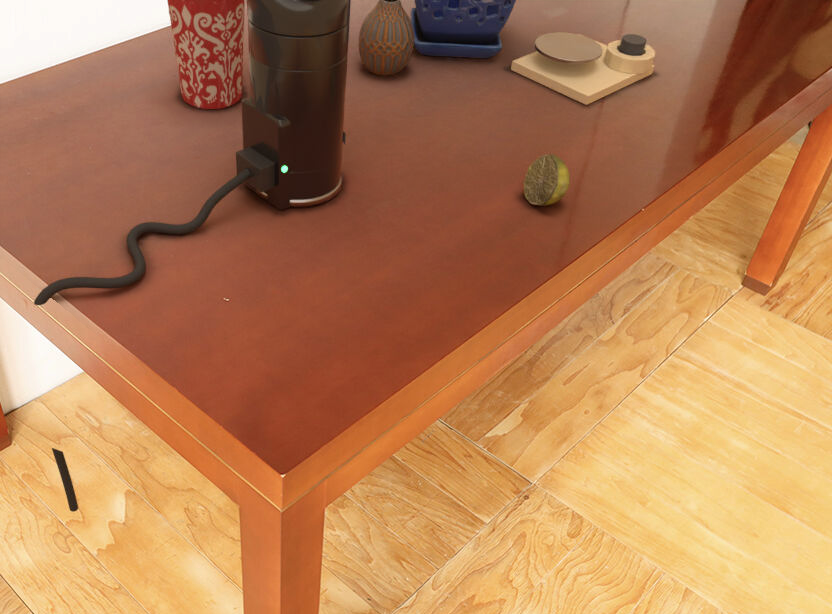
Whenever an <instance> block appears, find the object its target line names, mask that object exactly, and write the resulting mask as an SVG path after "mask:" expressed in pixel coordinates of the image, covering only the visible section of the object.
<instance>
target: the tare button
mask: <svg viewBox="0 0 832 614" xmlns="http://www.w3.org/2000/svg"><path fill="white" fill-rule="evenodd" d="M620 40H621V43H620V47H619V52H621V53H623V54H625V55H630V56H641V55H643V51H644V48H645V45H647V39H646V37H644V36H642V35H639V34H635V33H627V34H624V35H622V36H621V39H620Z"/></svg>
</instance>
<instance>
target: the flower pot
mask: <svg viewBox="0 0 832 614" xmlns="http://www.w3.org/2000/svg"><path fill="white" fill-rule="evenodd" d="M516 1H517V0H414V5H415V7H412V8H411V9H410V20H411V22H412V26H413V30H414V48H415V49H416V51H417V52H418V53H419V54H420V55H423V56H435V57H451V58H453V57H454V58H456V57H457V58H472V59H473V58H476V59H490V58H493V57H494V56H496V55H497V54H499V53H500V52H501V50H502V49H503V43H502V39H501V35H500V33H501V31H502V30H503V29H504V27H505V25H506V23H507V22H508V20H509V18H510V16H511V14H512V11H513V9H514V7H515V4H516Z"/></svg>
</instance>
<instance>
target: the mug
mask: <svg viewBox="0 0 832 614" xmlns="http://www.w3.org/2000/svg"><path fill="white" fill-rule="evenodd" d="M245 4H246V3H245V0H167V7H168V14H169V18H170V19H169V20H170V28H171V34H172V39H173V40H172V41H173V47H174V55H175V59H176V66H177V72H178V73H177V74H178V80H179V86H180V93H181V97H182V99H183V100H184V102H185V103H187V104H188V105H190V106H192V107H195V108H198V109H203V110H218V109H224V108H228V107H231V106H233V105H235V104H236V103H238V102H239V101H241V98H242V96H243V88H244V87H243V85H244V83H243V82H244V79H243V77H244V72H243V71H244V38H245V37H244V35H245V7H246V6H245Z"/></svg>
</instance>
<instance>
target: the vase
mask: <svg viewBox="0 0 832 614" xmlns="http://www.w3.org/2000/svg"><path fill="white" fill-rule="evenodd" d="M414 48H415V45H414V30H413V26H412V22H411V17H409V15H408V13H407V12H406V10H405V9H404V6H403V4H402V1H401V0H378V2H377V3H376V5H375V6H374V7H373V8H372V10H371V11H370V12H369V13H368V14H367V15H366V17H365V18H364V20H363V22H362V24H361V26H360V29H359V34H358V52H359V57H360V59H361V62H362V64H363V65H364V66H365V68H366V69H367V70H368V71H369V72H370V73H372V74H374V75H377V76H381V77H382V76H384V77H388V76H394V75H397V74H398V73H400V72H401V71H403V69H405V68H406V66H407V65H408V64H409V62H410V59H411V57H412V54H413V51H414Z"/></svg>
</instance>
